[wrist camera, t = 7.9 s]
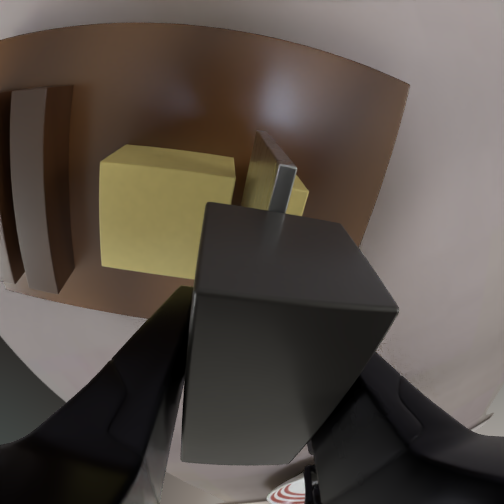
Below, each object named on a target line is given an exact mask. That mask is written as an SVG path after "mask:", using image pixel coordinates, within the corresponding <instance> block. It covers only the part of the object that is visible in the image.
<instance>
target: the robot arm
mask: <svg viewBox="0 0 504 504" xmlns="http://www.w3.org/2000/svg"><path fill="white" fill-rule="evenodd" d="M192 295H193V287H192V286H185V285H181V286H179V287H178V288H177V289H176V290H175V291H174V292H173V293H172V295H171V296H170V297H169V298H168V299H167V300H166V301H165V302H164V303H163V304H162V305H161V306H160V307H159V308H158V309H157V310H156V311H155V312H154V314H153V315H152V316H151V317H150V318H149V319H148V320H147V321H146V322H145V323H144V324H143V325H142V326H141V327H140V328H139V330H138V331H137V332H136V333H135V334H134V335H133V336H132V337H131V338H130V339H129V340H128V341H127V342H126V344H125V345H124V346H123V347H122V348H121V349H120V350H119V351H118V352H117V353H116V354H115V356H114V357H113V358H112V361H111V360H110V361H109V362H108V363H107V364H106V365H105V366H104V367H103V369H102V370H101V371H100V372H99V373H98V374H97V375H96V376H95V377H94V378H93V379H92V380H91V381H90V382H89V383H88V384H87V385H86V386H85V387H84V388H83V389H81V390H80V391H79V392H78V393H77V394H76V395H75V396H74V397H73V398H71V399H70V400H69V401H68V402H67V403H66V404H65V405H64V406H62V407H61V408H60V409H59V410H57V411H56V412H55V413H54V414H53V415H52V416H50V417H49V418H48V419H47V420H46V421H45V422H43V423H42V424H41V425H40V426H39V427H38V428H36V429H35V430H34V431H32V432H31V433H30V434H28V435H27V436H25V437H23V438H21V439H19V440H17V441H14V442H11V443H7V444H3V445H0V504H160V499H161V492H162V488H163V481H164V476H165V472H166V466H167V461H168V456H169V451H170V446H171V441H172V436H173V431H174V427H175V422H176V417H177V412H178V408H179V403H180V398H181V394H182V389H183V385H184V380H185V369H186V357H187V345H188V334H189V324H190V314H191V304H192ZM307 446H308V451H309V453H310V454H311V455H314V461H315V465H313V466H311V465H309V466H306V467H305V472H303V475H304V481H305V501H304V504H504V437H499V436H485V435H481V434H477V433H475V432H473V431H471V430H469V429H467V428H466V427H465V426H463V425H462V424H461V423H459V422H458V421H457V420H455V419H454V418H453V417H451V416H450V415H449V414H447V413H446V412H445V411H444V410H442V409H441V408H440V407H438V406H437V405H436V404H435V403H433V402H432V401H431V400H430V399H428V398H427V397H426V396H424V395H423V394H422V393H421V392H420V391H419V390H418V389H416V388H415V387H414V386H413V385H412V384H411V383H410V382H408V381H407V380H406V379H405V378H404V377H403V376H400V373H398V372H397V371H396V370H395V369H394V368H393V367H392V366H391V365H390V364H389V363H387V362H386V361H385V360H384V359H383V358H382V357H381V356H380V355H379V354H378V353H376V352H375V353H374V354H373V356H372V357H371V359H370V360H369V362H368V363H367V365H366V366H365V368H364V369H363V371H362V372H361V374H360V375H359V377H358V378H357V379H356V381H355V382H354V384H353V385H352V386H351V388H350V389H349V391H348V392H347V393H346V395H345V396H344V397H343V399H342V400H341V402H340V403H339V404H338V405H337V407H336V408H335V409H334V411H333V412H332V413H331V415H330V416H329V417H328V418H327V420H326V421H325V422H324V423H323V425H322V426H321V427H320V428H319V430H318V431H317V432H316V433H315V434H314V436H313V437H312V438H311V439H310V440H309V441H308V443H307Z"/></svg>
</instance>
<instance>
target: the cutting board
mask: <svg viewBox="0 0 504 504" xmlns="http://www.w3.org/2000/svg"><path fill="white" fill-rule="evenodd" d="M409 88H410V85H409V84H407V83H405V82H403V81H401V80H399V79H397V78H394V77H392V76H390V75H387V74H385V73H383V72H380V71H378V70H375V69H373V68H370V67H368V66H365V65H363V64H360V63H357V62H355V61H352V60H349V59H346V58H343V57H340V56H337V55H334V54H331V53H328V52H325V51H322V50H318V49H315V48H312V47H308V46H304V45H301V44H297V43H293V42H289V41H285V40H281V39H277V38H272V37H268V36H263V35H258V34H253V33H247V32H242V31H236V30H229V29H222V28H215V27H206V26H197V25H186V24H171V23H105V24H91V25H80V26H71V27H63V28H56V29H50V30H44V31H38V32H33V33H28V34H23V35H19V36H14V37H10V38H6V39H2V40H0V281H3V282H4V285H5V288H6V290H10V291H13V292H17V293H21V294H25V295H29V296H33V297H38V298H42V299H46V300H51V301H55V302H60V303H64V304H69V305H74V306H79V307H84V308H89V309H94V310H99V311H105V312H110V313H116V314H121V315H127V316H133V317H140V318H146V319H149V318H150V317H151V316H152V315H153V314H154V312H155V311H156V310H157V309H158V308H159V307H160V306H161V305H162V304H163V303H164V302H165V301H166V300H167V299H168V298H169V297H170V296H171V295H172V293H173V292H174V291H175V290H176V289H177V288H178V287H179V286H181V285H185V286H192V287H193V286H194V279H187V278H179V277H172V276H165V275H158V274H151V273H144V272H137V271H131V270H124V269H117V268H111V267H105V266H102V262H101V246H100V221H99V177H100V162H101V161H102V160H103V159H105V158H106V157H108V156H109V155H111V154H112V153H114V152H115V151H117V150H118V149H120V148H121V147H123V146H125V145H138V146H148V147H158V148H167V149H176V150H184V151H191V152H199V153H206V154H213V155H220V156H226V157H232V158H234V165H235V175H236V181H235V186H234V191H233V197H232V202H231V205H236V206H241V202H242V197H243V192H244V188H245V183H246V178H247V173H248V168H249V163H250V159H251V154H252V149H253V145H254V140H255V135H256V131H264V132H267V133H268V134H269V135H270V136H271V137H272V139H273V140H274V141H275V142H276V143H277V144H278V146H279V147H280V148H281V149H282V150H283V151H284V153H285V154H286V155H287V156H288V157H289V158H290V160H291V161H292V162H293V163H294V164H295V166H296V167H297V172H296V175H297V176H298V177H299V179H300V180H301V182H302V183H303V184H304V186H305V187H306V188H307V190H308V191H309V193H308V197H307V200H306V204H305V207H304V211H303V214H302V216H303V217H309V218H314V219H320V220H325V221H330V222H336V223H340V224H341V225H342V226H343V227H344V229H345V230H346V231H347V233H348V234H349V235H350V237H351V238H352V240H353V241H354V242H355V244H356V245H357V247H358V248H359V245H360V243H361V240H362V238H363V235H364V233H365V230H366V227H367V225H368V222H369V219H370V216H371V214H372V211H373V208H374V205H375V202H376V200H377V197H378V194H379V191H380V188H381V185H382V182H383V179H384V176H385V173H386V170H387V167H388V164H389V160H390V157H391V154H392V151H393V147H394V144H395V141H396V137H397V134H398V130H399V127H400V123H401V119H402V116H403V112H404V108H405V104H406V100H407V96H408V92H409Z"/></svg>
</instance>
